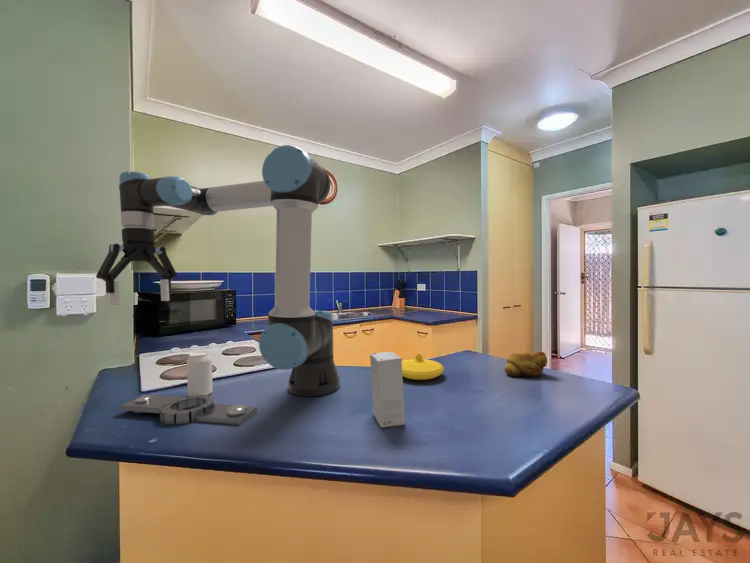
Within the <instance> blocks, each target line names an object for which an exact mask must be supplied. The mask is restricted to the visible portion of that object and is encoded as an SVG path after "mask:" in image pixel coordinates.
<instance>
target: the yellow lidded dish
mask: <svg viewBox="0 0 750 563" xmlns="http://www.w3.org/2000/svg"><path fill="white" fill-rule="evenodd" d="M444 370H445V368H444V366H443V365H442V363H440V362H438V361H435V360H432V359H425V358H424V359H423V354H421V353H416V354H415V358H413V359H412V358H411V359H406V360H405V359H404V360H402V376H403V378H406V379H409V380H414V381H415V380H416V381H427V380H431V379H435V378H437V377H439V376H441V375H442V374H443V372H444Z"/></svg>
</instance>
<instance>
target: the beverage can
mask: <svg viewBox="0 0 750 563" xmlns="http://www.w3.org/2000/svg"><path fill="white" fill-rule="evenodd" d="M186 377H187V380H186V381H187V382H186V383H187V397H188V396H194V395H199V396H200V395H210V394H211V393H213V390H214V389H213V362H212V357H211V355H210V352H209V351H196V352H191V353H190V354H188V358H187V360H186Z"/></svg>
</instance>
